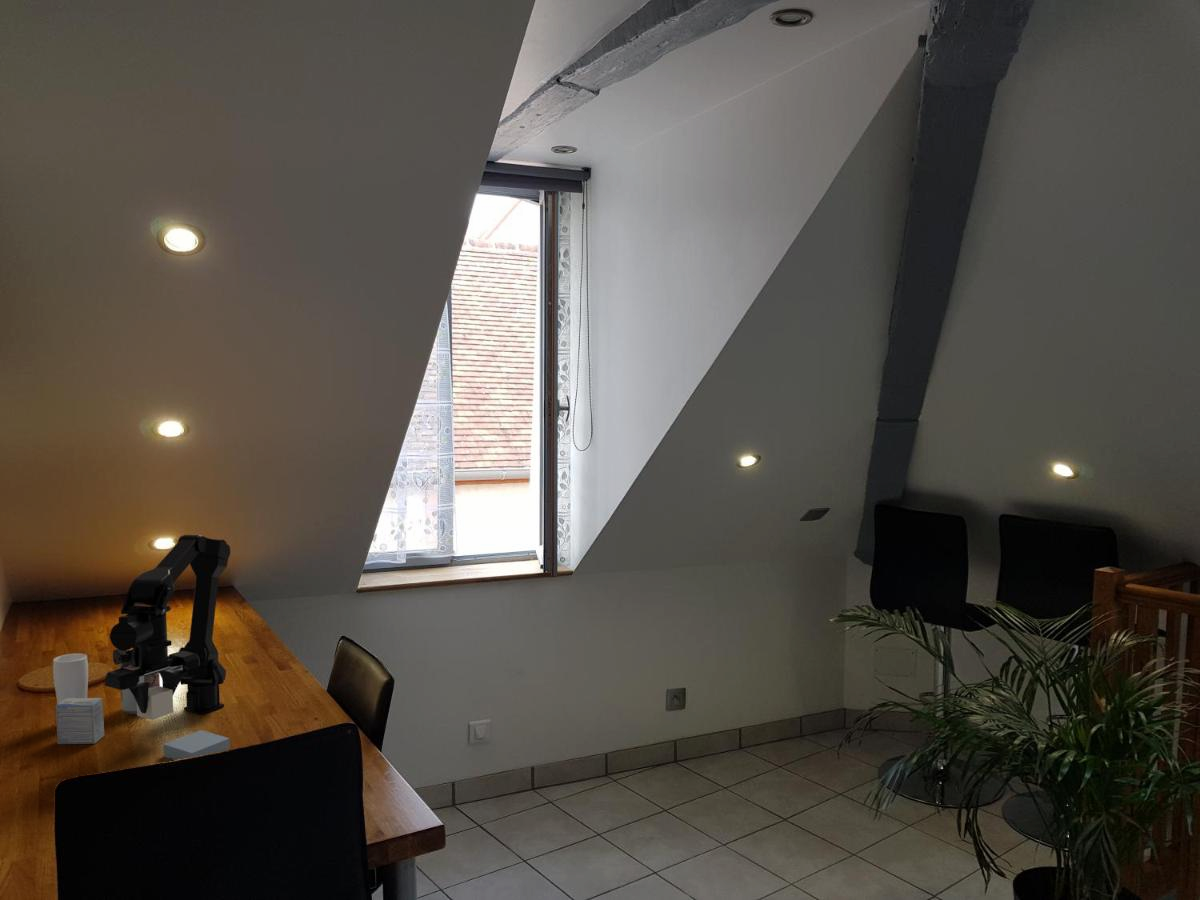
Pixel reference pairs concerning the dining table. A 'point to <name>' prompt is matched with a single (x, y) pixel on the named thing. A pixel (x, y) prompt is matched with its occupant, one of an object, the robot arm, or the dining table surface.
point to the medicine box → (80, 721)
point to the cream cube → (158, 703)
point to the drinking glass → (70, 676)
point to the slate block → (195, 745)
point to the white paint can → (127, 697)
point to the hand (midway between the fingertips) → (155, 709)
